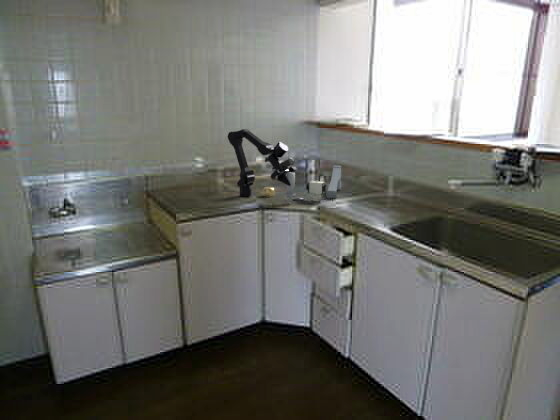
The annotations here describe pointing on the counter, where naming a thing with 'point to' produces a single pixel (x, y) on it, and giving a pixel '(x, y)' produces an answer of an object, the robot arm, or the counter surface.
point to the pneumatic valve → (317, 189)
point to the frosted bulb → (291, 189)
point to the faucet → (334, 183)
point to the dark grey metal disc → (299, 198)
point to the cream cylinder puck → (269, 192)
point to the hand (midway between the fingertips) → (292, 184)
